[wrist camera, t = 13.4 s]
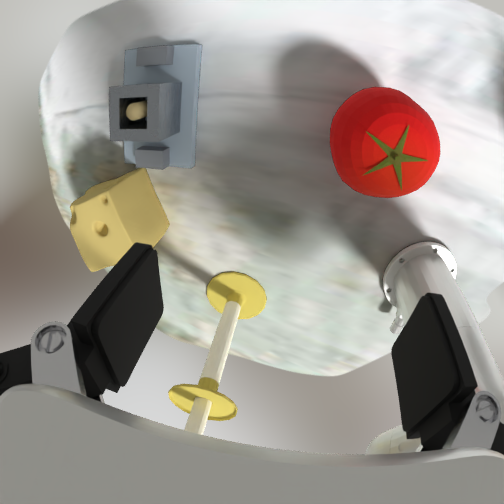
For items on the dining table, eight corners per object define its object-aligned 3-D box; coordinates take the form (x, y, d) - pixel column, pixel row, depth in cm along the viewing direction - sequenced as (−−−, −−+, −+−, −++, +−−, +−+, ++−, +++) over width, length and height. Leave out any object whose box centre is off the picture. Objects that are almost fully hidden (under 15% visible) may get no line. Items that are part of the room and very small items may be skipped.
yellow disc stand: (215, 262, 45) (109, 515, 14) (276, 286, 46) (224, 549, 14) (200, 305, 51) (117, 514, 19) (254, 325, 51) (201, 541, 20)
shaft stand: (195, 165, 37) (174, 182, 31) (130, 160, 38) (102, 176, 32) (202, 45, 28) (179, 38, 23) (131, 50, 29) (100, 48, 23)
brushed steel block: (182, 82, 30) (159, 83, 25) (180, 131, 33) (158, 142, 28) (136, 83, 30) (109, 87, 25) (135, 130, 34) (110, 140, 29)
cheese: (96, 183, 41) (56, 211, 33) (148, 161, 38) (108, 187, 30) (122, 239, 46) (90, 274, 38) (175, 226, 43) (145, 264, 35)
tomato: (393, 75, 27) (437, 74, 16) (421, 157, 31) (468, 194, 20) (308, 105, 31) (311, 115, 20) (343, 184, 35) (359, 233, 25)
